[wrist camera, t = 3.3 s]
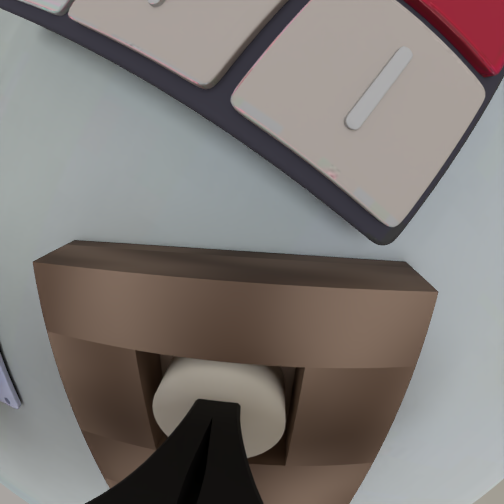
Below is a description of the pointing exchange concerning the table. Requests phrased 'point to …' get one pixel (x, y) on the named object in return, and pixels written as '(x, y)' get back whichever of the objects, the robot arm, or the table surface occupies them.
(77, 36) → the calculator
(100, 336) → the button panel
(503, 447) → the table surface
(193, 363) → the cream button
